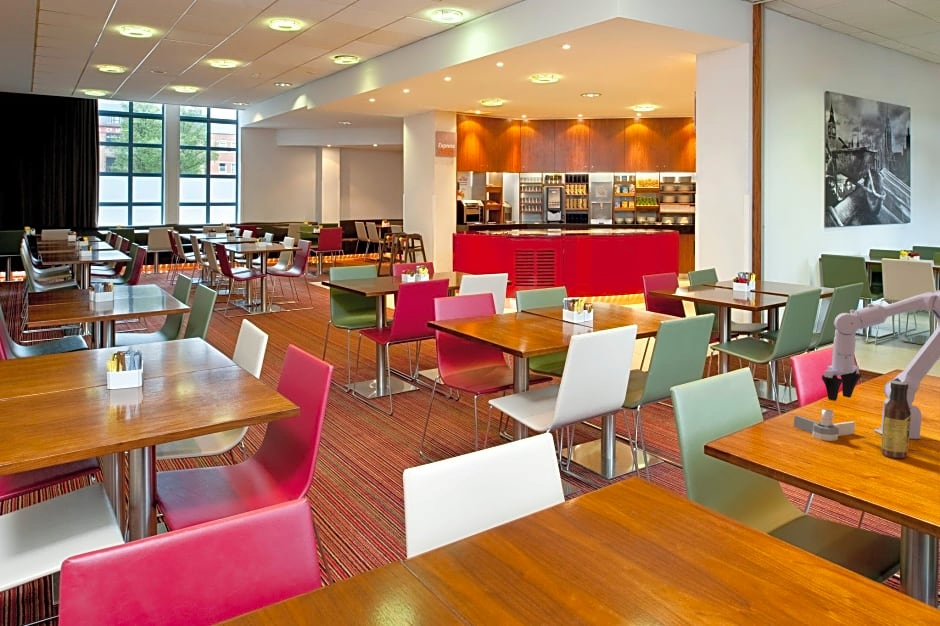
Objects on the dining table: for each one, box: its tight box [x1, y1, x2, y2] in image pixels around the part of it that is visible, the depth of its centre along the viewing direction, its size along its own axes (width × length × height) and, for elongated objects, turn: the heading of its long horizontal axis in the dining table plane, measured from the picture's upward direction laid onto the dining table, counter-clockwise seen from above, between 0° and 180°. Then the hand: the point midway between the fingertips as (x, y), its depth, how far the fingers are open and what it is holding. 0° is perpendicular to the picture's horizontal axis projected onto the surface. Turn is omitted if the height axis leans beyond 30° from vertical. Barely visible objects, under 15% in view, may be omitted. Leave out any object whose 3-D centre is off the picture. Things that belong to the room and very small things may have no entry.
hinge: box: [793, 414, 856, 442], centre depth 214 cm, size 14×14×4 cm
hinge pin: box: [820, 408, 834, 428], centre depth 209 cm, size 3×3×8 cm
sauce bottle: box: [880, 382, 911, 459], centre depth 193 cm, size 7×6×20 cm
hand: (839, 398), depth 216 cm, fingers open, 7 cm apart
